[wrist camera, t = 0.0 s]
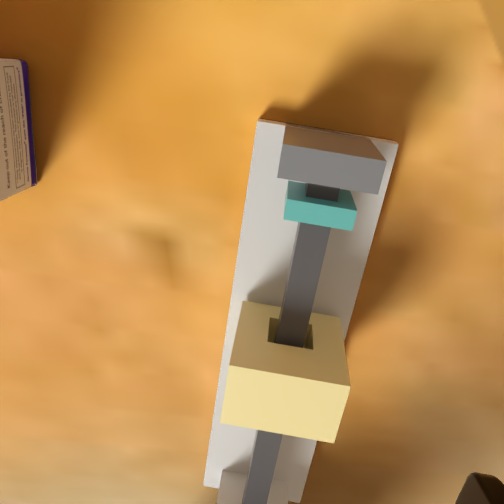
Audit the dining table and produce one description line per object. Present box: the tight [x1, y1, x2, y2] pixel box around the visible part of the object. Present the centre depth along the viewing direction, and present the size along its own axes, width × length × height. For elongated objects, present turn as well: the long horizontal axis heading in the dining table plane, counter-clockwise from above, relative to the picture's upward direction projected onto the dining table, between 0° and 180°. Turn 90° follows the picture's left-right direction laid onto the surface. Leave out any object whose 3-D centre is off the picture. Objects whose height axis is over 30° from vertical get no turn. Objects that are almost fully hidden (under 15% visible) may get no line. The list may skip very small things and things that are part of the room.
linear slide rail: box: [203, 118, 399, 504], centre depth 23 cm, size 22×6×5 cm, turn 172°
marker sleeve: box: [220, 301, 351, 443], centre depth 21 cm, size 3×5×5 cm, turn 82°
